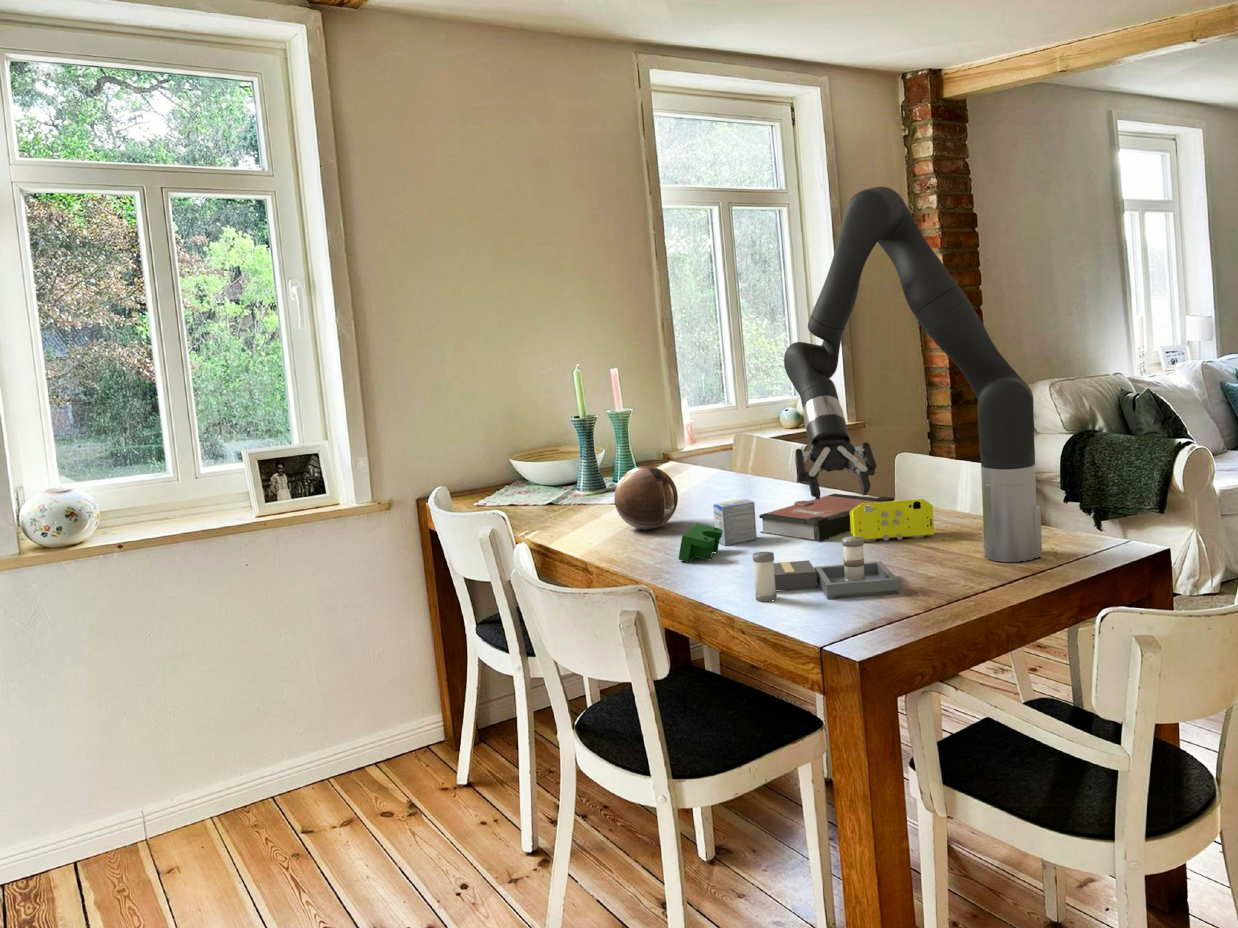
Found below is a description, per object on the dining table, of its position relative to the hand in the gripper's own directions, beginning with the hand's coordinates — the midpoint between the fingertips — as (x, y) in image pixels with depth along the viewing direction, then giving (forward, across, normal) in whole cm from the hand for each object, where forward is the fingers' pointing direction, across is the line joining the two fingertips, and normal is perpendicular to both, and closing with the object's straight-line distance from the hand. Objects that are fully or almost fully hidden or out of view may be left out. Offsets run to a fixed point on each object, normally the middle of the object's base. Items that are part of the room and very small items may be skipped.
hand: (842, 494), depth 178 cm
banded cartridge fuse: (+16, 0, +5) cm, 16 cm away
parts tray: (+16, 0, +5) cm, 17 cm away
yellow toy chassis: (-7, +14, +28) cm, 33 cm away
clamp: (-6, -25, +27) cm, 37 cm away
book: (-18, +4, +40) cm, 45 cm away
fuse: (+18, -16, +3) cm, 25 cm away
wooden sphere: (-27, -36, +48) cm, 66 cm away
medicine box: (-13, -17, +34) cm, 40 cm away
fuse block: (+12, -11, +9) cm, 19 cm away
